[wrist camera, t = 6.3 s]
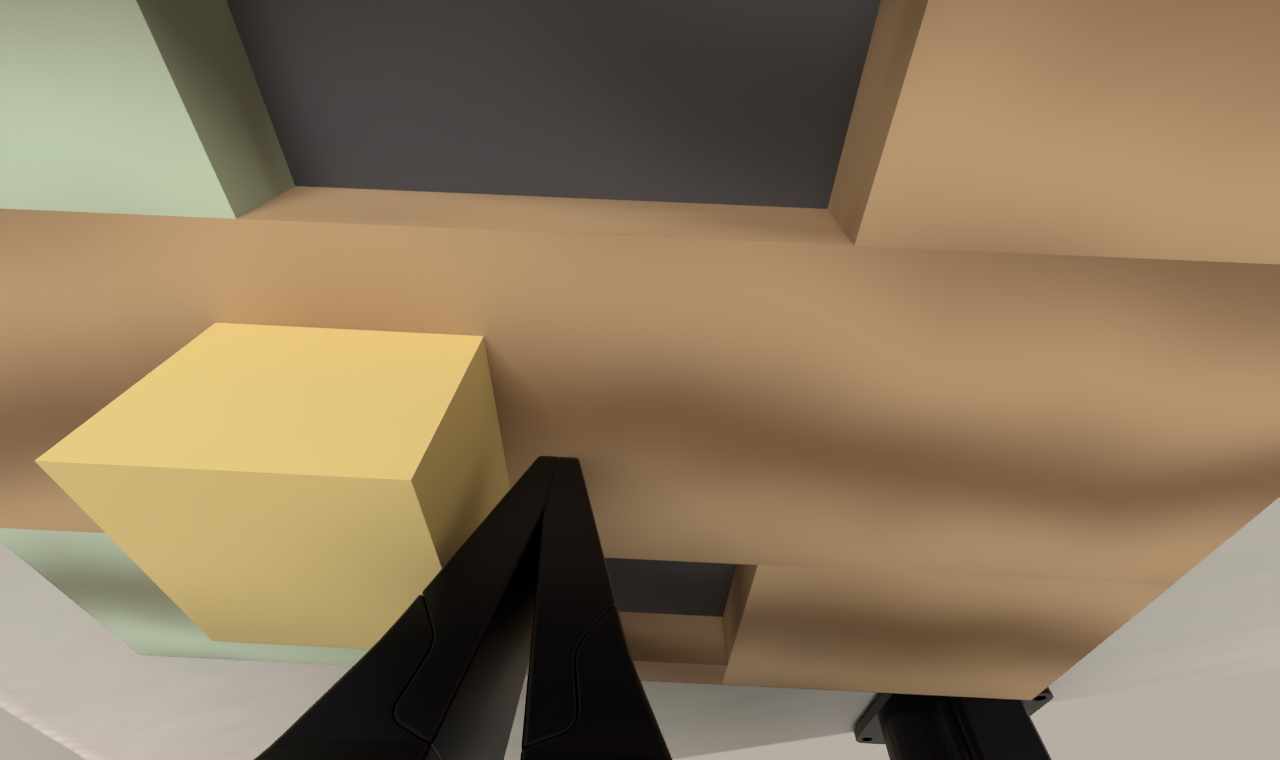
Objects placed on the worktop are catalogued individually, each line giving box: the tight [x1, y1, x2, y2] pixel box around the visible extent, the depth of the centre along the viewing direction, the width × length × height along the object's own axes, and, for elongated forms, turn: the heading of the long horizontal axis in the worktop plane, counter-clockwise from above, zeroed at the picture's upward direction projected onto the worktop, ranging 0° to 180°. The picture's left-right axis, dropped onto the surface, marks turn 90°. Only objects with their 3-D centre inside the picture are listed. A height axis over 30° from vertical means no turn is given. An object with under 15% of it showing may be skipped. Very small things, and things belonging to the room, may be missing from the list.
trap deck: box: [0, 0, 1280, 700], centre depth 12 cm, size 24×32×2 cm
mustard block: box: [35, 323, 510, 650], centre depth 10 cm, size 5×5×4 cm
